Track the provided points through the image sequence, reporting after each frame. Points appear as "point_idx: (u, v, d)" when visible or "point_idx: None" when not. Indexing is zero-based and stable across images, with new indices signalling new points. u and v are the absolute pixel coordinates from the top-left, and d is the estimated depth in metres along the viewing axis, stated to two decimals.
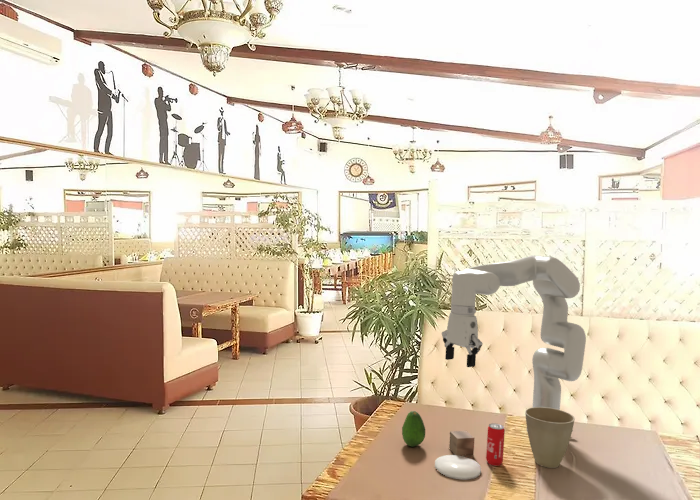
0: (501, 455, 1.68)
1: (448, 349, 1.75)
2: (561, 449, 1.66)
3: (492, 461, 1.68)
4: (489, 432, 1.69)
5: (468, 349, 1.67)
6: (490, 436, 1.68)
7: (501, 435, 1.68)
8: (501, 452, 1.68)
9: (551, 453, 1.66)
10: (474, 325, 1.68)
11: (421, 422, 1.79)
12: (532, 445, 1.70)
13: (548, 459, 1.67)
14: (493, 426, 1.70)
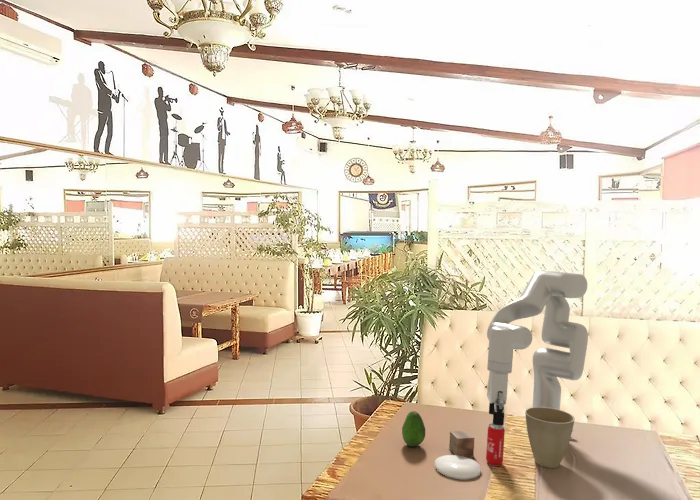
0: (501, 455, 1.68)
1: None
2: (561, 449, 1.66)
3: (492, 461, 1.68)
4: (489, 432, 1.69)
5: None
6: (490, 436, 1.68)
7: (501, 435, 1.68)
8: (501, 452, 1.68)
9: (551, 453, 1.66)
10: None
11: (421, 422, 1.79)
12: (532, 445, 1.70)
13: (548, 459, 1.67)
14: (493, 426, 1.70)
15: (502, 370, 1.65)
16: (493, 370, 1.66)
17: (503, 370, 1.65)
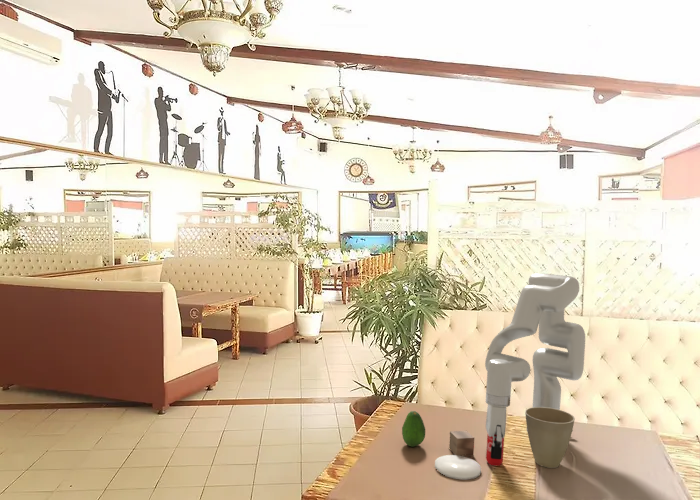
0: None
1: None
2: (561, 449, 1.66)
3: (492, 461, 1.68)
4: None
5: None
6: None
7: None
8: None
9: (551, 453, 1.66)
10: None
11: (421, 422, 1.79)
12: (532, 445, 1.70)
13: (548, 459, 1.67)
14: None
15: (500, 404, 1.66)
16: (491, 403, 1.67)
17: (501, 404, 1.66)
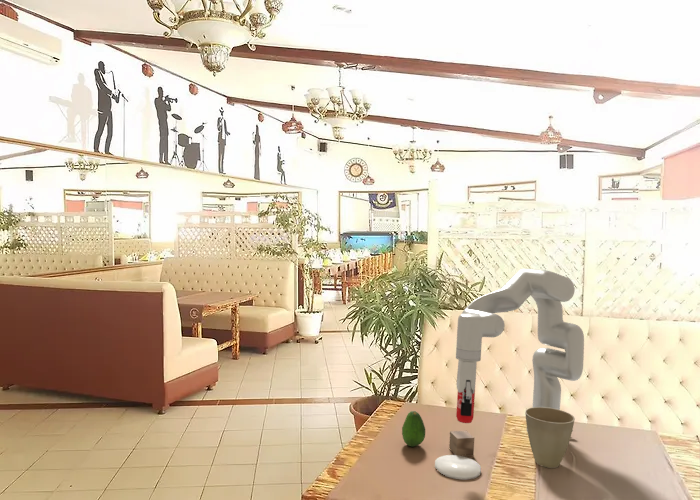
0: (471, 412, 1.63)
1: None
2: (561, 449, 1.66)
3: (462, 418, 1.63)
4: None
5: None
6: (460, 393, 1.63)
7: None
8: None
9: (551, 453, 1.66)
10: None
11: (421, 422, 1.79)
12: (532, 445, 1.70)
13: (548, 459, 1.67)
14: None
15: (470, 358, 1.60)
16: (461, 358, 1.61)
17: (471, 358, 1.60)
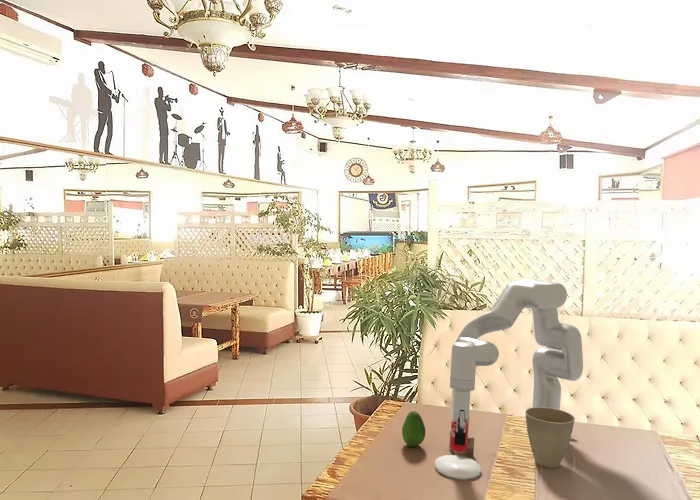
0: (465, 441, 1.63)
1: None
2: (561, 449, 1.66)
3: (456, 447, 1.63)
4: None
5: None
6: (454, 422, 1.63)
7: None
8: (465, 438, 1.63)
9: (551, 453, 1.66)
10: None
11: (421, 422, 1.79)
12: (532, 445, 1.70)
13: (548, 459, 1.67)
14: None
15: (464, 388, 1.60)
16: (455, 388, 1.61)
17: (465, 388, 1.60)
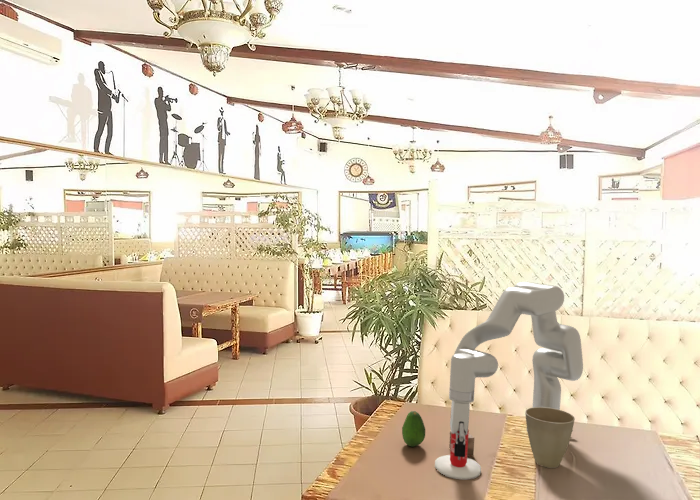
0: (465, 456, 1.63)
1: None
2: (561, 449, 1.66)
3: (456, 462, 1.63)
4: None
5: None
6: (454, 437, 1.64)
7: (465, 436, 1.63)
8: (465, 453, 1.63)
9: (551, 453, 1.66)
10: None
11: (421, 422, 1.79)
12: (532, 445, 1.70)
13: (548, 459, 1.67)
14: None
15: (463, 399, 1.60)
16: (454, 399, 1.61)
17: (464, 399, 1.60)
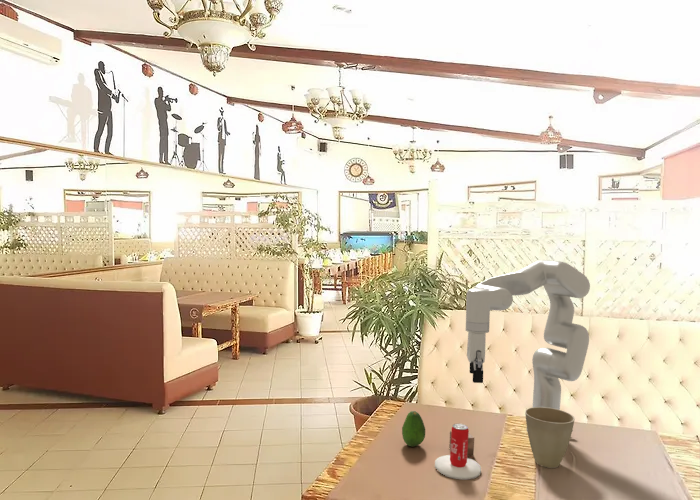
0: (465, 456, 1.63)
1: None
2: (561, 449, 1.66)
3: (456, 462, 1.63)
4: (453, 433, 1.64)
5: None
6: (454, 437, 1.64)
7: (465, 436, 1.63)
8: (465, 453, 1.63)
9: (551, 453, 1.66)
10: None
11: (421, 422, 1.79)
12: (532, 445, 1.70)
13: (548, 459, 1.67)
14: (457, 426, 1.65)
15: (479, 330, 1.70)
16: (471, 330, 1.71)
17: (480, 330, 1.70)
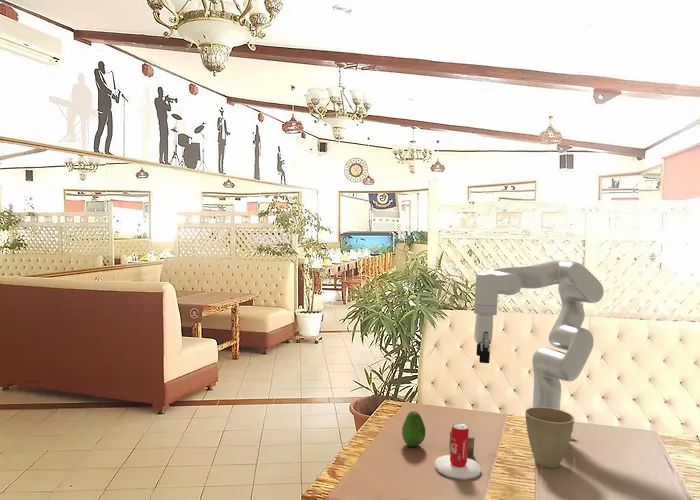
0: (465, 456, 1.63)
1: None
2: (561, 449, 1.66)
3: (456, 462, 1.63)
4: (453, 433, 1.64)
5: None
6: (453, 437, 1.64)
7: (465, 436, 1.63)
8: (465, 453, 1.63)
9: (551, 453, 1.66)
10: None
11: (421, 422, 1.79)
12: (532, 445, 1.70)
13: (548, 459, 1.67)
14: (457, 426, 1.65)
15: (487, 312, 1.77)
16: (479, 312, 1.78)
17: (488, 312, 1.77)
